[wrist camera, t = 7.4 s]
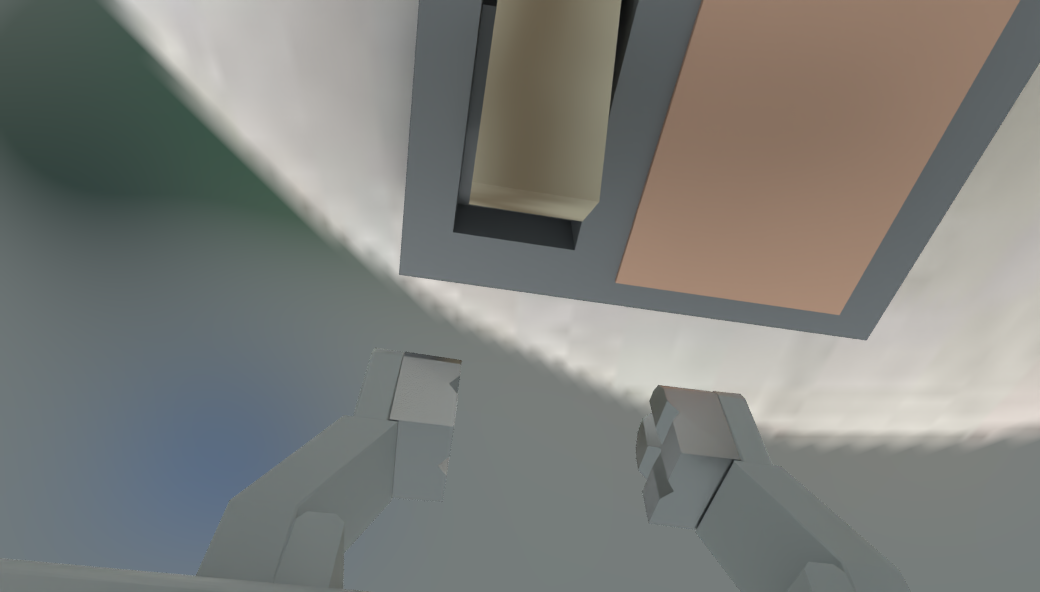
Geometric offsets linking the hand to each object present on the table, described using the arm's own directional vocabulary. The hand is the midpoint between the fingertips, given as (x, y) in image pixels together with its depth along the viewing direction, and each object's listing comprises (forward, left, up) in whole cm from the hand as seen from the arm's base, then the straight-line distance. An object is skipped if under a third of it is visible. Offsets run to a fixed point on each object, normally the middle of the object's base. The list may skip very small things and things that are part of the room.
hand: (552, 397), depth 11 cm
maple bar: (0, -3, -16) cm, 17 cm away
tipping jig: (-6, -3, -21) cm, 22 cm away
